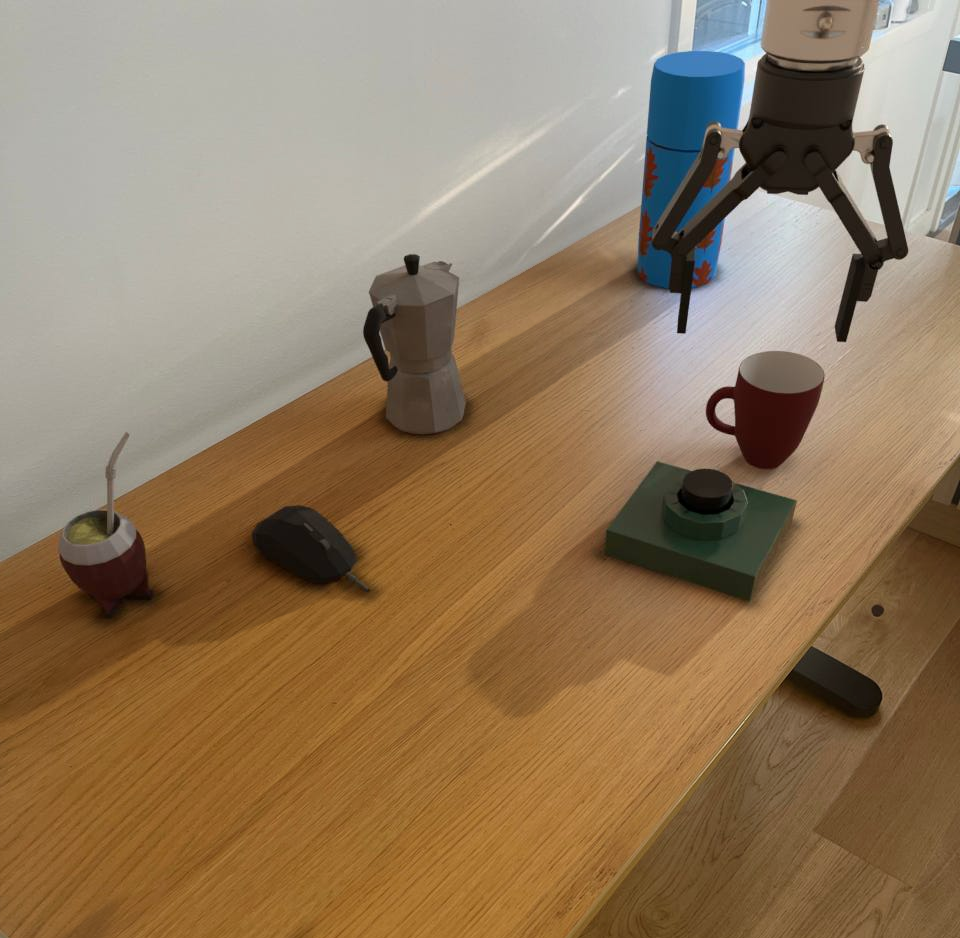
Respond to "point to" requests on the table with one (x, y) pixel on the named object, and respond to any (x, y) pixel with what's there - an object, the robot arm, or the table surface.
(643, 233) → the thermos
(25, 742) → the table surface
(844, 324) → the robot arm
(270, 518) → the gaming mouse
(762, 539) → the green button base
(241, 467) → the table surface
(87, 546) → the mate gourd
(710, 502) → the black round button
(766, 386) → the mug
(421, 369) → the coffeepot
